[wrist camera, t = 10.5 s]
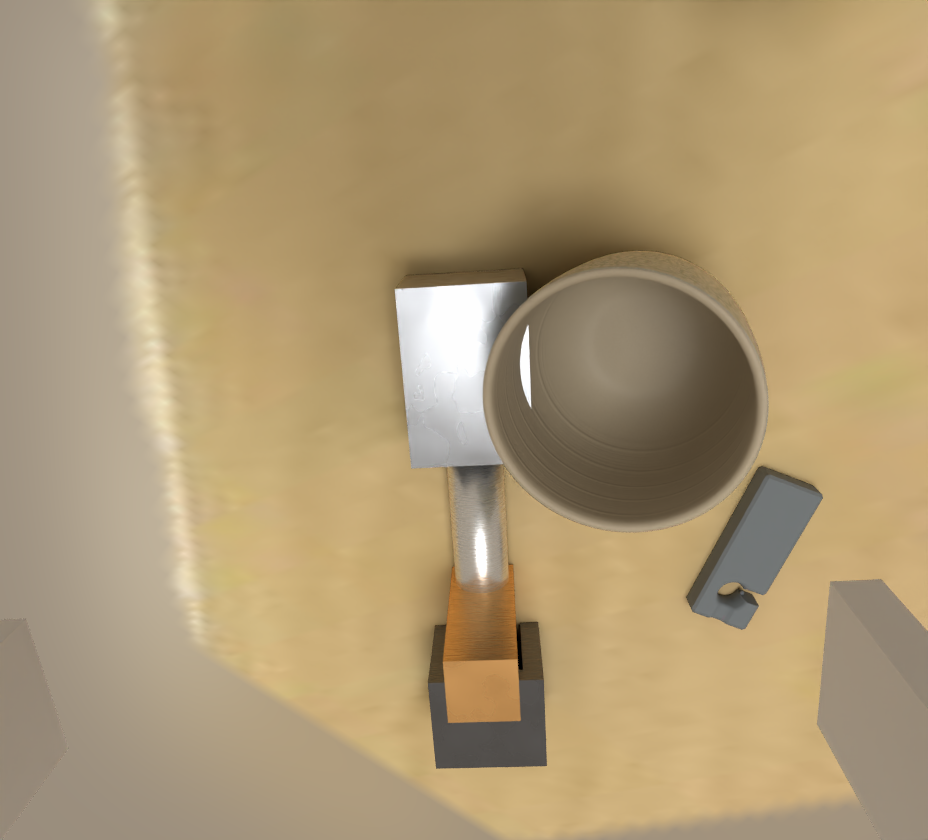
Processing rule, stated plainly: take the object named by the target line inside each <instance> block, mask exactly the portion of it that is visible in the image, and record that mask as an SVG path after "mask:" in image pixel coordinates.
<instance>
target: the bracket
mask: <svg viewBox="0 0 928 840" xmlns="http://www.w3.org/2000/svg"><path fill="white" fill-rule="evenodd" d="M822 499H823V497H822V494H821V493H820V492H819V491H818V490H817V489H816V488H815V487H814V486H813V485H810V484H808V483H805V482H802V481H800V480H797V479H795V478H792V477H789V476H787V475H784V474H781V473H779V472H776V471H774V470H771V469H768V468H766V467H763V466H762V467H759V468H758V469H757V471H756V473H755V475H754V477H753V478H752V480H751V482H750V484H749V486H748V487H747V489H746V491H745V493H744V495H743V496H742V498H741V500H740V502H739V504H738V505H737V507H736V509H735V511H734V513H733V514H732V516H731V518H730V520H729V522H728V523H727V525H726V527H725V529H724V531H723V532H722V534H721V536H720V538H719V540H718V541H717V543H716V545H715V547H714V549H713V550H712V552H711V554H710V556H709V558H708V559H707V561H706V563H705V565H704V567H703V568H702V570H701V572H700V574H699V576H698V577H697V579H696V581H695V583H694V585H693V586H692V588H691V590H690V592H689V594H688V595H687V597H686V598H687V600H688V603H689V605H690V607H691V609H692V611H693V612H694V613H697V614H700V615H703V616H706V617H713V618H716V619H718V620H721V621H722V622H724V623H726V624H728V625H730V626H733V627H736V628H739V629H741V630H742V629H745V628H746V627H747V625H748V623H749V622H750V620H751V618H752V617H753V615H754V613H755V611H756V610H757V608H758V606H759V605H758V604H757V602H756V600H755V598H754V597H753V595H752V594H750V593H747V592H744V591H742V590H739V589H737V590H736V591H735V592H734V593H732V594H730V595H719V594H718V591H719V589H720V588H721V587H722V586H723V585H725V584H727V583H730V582H737V583H740V584H741V586H743V588H744V589H748V590H750V591H753V592H756V593H758V594H761V595H764V594H766V593H767V591H768V590H769V588H770V586H771V584H772V583H773V581H774V579H775V578H776V576H777V574H778V573H779V571H780V569H781V568H782V566H783V564H784V563H785V561H786V559H787V558H788V556H789V554H790V552H791V551H792V549H793V547H794V546H795V544H796V542H797V541H798V539H799V537H800V536H801V534H802V532H803V531H804V529H805V527H806V525H807V524H808V522H809V520H810V519H811V517H812V515H813V514H814V512H815V510H816V509H817V507H818V505H819V504H820V502H821V500H822Z"/></svg>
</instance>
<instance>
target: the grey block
mask: <svg viewBox="0 0 928 840" xmlns="http://www.w3.org/2000/svg"><path fill="white" fill-rule="evenodd" d="M395 298H396V309H397V320H398V330H399V341H400V352H401V362H402V373H403V384H404V394H405V405H406V416H407V427H408V437H409V448H410V459H411V468H431V467H453V466H475V465H497V464H503V462H502V461H501V459H500V457H499V455H498V454H497V452H496V450H495V448H494V445H493V443H492V441H491V438H490V435H489V432H488V429H487V425H486V421H485V416H484V409H483V380H484V373H485V368H486V364H487V360H488V357H489V354H490V351H491V348H492V346H493V344H494V342H495V340H496V338H497V336H498V334H499V332H500V331H501V329H502V327H503V326H504V324H505V323H506V322H507V320H508V319H509V318H510V317H511V315H512V314H513V313H514V312H515V311H516V310H517V308H518V307H519V306H520V305H521V304H522V303H523V302H525V301H526V300H527V281H526V277H525V274H524V271H523V268H521V269H504V270H488V271H471V272H454V273H438V274H421V275H406V276H405V277H404V278H403V280H402V281H401V282H400V283H399V284H398V286H397V287H396V288H395ZM520 372H521V380H522V385H523V389H524V393H525V396H526V398H527V401H528V403H529V405H530V407H531V385H530V358H529V331H528V327H527V329H526V332H525V335H524V339H523V343H522V348H521V356H520Z"/></svg>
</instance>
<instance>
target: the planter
mask: <svg viewBox="0 0 928 840" xmlns="http://www.w3.org/2000/svg"><path fill="white" fill-rule="evenodd" d="M527 327H528V331H529V358H530V385H531V407H530V405H529V403H528V401H527V398H526V396H525V393H524V389H523V385H522V380H521V372H520V356H521V348H522V343H523V339H524V335H525V332H526V329H527ZM483 409H484V416H485V421H486V425H487V429H488V432H489V435H490V438H491V441H492V443H493V445H494V448H495V450H496V452H497V454H498V455H499V457H500V459H501V461H502V462H503V464H504V465H505V467H506V468H507V470H508V471H509V473H510V474H511V475H512V476H513V478H514V479H515V480H516V481H517V482H518V483H519V485H520V486H521V487H522V488H523V489H524V490H525V491H527V492H528V493H529V494H530V495H531V496H532V497H533V498H535V499H536V500H537V501H538V502H540V503H541V504H543V505H544V506H545V507H547V508H549V509H550V510H552V511H554V512H555V513H557V514H559V515H561V516H563V517H565V518H567V519H569V520H572V521H574V522H577V523H580V524H582V525H586V526H589V527H593V528H597V529H601V530H607V531H614V532H648V531H655V530H661V529H666V528H670V527H673V526H676V525H680V524H682V523H685V522H688V521H690V520H692V519H694V518H696V517H698V516H700V515H702V514H704V513H706V512H707V511H709V510H711V509H712V508H713V507H715V506H716V505H718V504H719V503H720V502H722V501H723V500H724V499H725V498H726V497H727V496H728V495H730V494H731V493H732V492H733V491H734V490H735V488H736V487H737V486H738V485H739V484H740V483H741V482H742V480H743V479H744V478H745V476H746V475H747V473H748V472H749V470H750V469H751V467H752V465H753V463H754V462H755V460H756V458H757V455H758V453H759V451H760V448H761V445H762V442H763V439H764V436H765V431H766V426H767V419H768V388H767V380H766V374H765V369H764V365H763V361H762V357H761V354H760V351H759V348H758V345H757V342H756V340H755V337H754V335H753V332H752V330H751V328H750V326H749V324H748V322H747V319H746V317H745V315H744V314H743V312H742V310H741V308H740V307H739V305H738V304H737V302H736V301H735V299H734V298H733V297H732V295H731V294H730V293H729V292H728V291H727V289H726V288H725V287H724V286H723V285H722V284H721V283H720V282H719V281H718V280H716V279H715V278H714V277H713V276H712V275H710V274H709V273H708V272H706V271H705V270H703V269H702V268H700V267H699V266H697V265H695V264H693V263H691V262H689V261H687V260H685V259H682V258H680V257H677V256H674V255H670V254H666V253H661V252H654V251H626V252H619V253H614V254H609V255H605V256H602V257H599V258H596V259H593V260H591V261H588V262H586V263H583V264H581V265H579V266H577V267H575V268H573V269H571V270H569V271H567V272H565V273H563V274H562V275H560V276H558V277H556V278H555V279H553V280H552V281H550V282H549V283H547V284H546V285H544V286H543V287H541V288H540V289H539V290H537V291H536V292H535V293H534V294H532V295H531V296H530V297H529V298H528V299H527V300H526V301H525V302H523V303H522V304H521V305H520V306H519V307H518V308H517V310H516V311H515V312H514V313H513V314H512V315H511V317H510V318H509V319H508V320H507V322H506V323H505V324H504V326H503V327H502V329H501V331H500V332H499V334H498V336H497V338H496V340H495V342H494V344H493V346H492V348H491V351H490V354H489V357H488V360H487V364H486V368H485V373H484V380H483Z"/></svg>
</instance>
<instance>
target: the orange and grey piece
mask: <svg viewBox="0 0 928 840" xmlns="http://www.w3.org/2000/svg"><path fill="white" fill-rule="evenodd" d="M447 473H448V486H449V499H450V512H451V525H452V538H453V551H454V564H455V567H452V577H451V586H450V596H449V606H448V616H447V626H446V635H445V645H444V655H443V670H444V682H445V693H446V705H447V716H448V723H463V722H501V721H521V717H520V696H519V676H518V655H517V635H516V615H515V595H514V575H513V565H508V550H507V530H506V511H505V491H504V472H503V464H497V465H475V466H453V467H447Z"/></svg>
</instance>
